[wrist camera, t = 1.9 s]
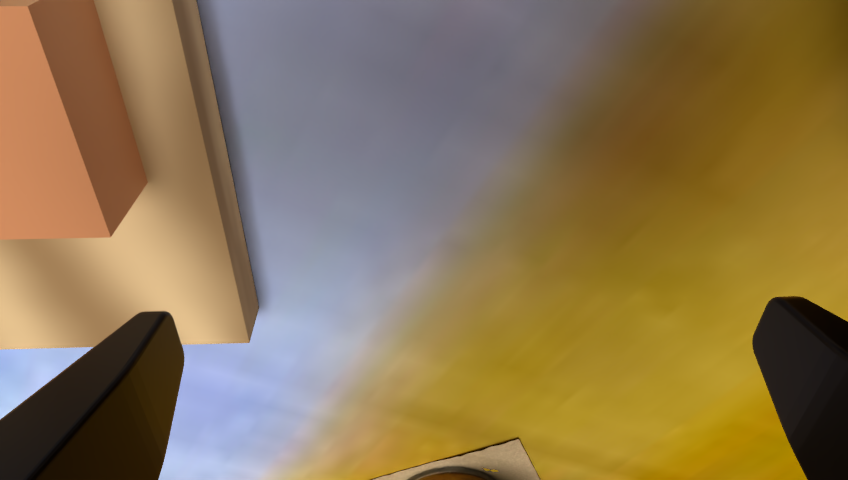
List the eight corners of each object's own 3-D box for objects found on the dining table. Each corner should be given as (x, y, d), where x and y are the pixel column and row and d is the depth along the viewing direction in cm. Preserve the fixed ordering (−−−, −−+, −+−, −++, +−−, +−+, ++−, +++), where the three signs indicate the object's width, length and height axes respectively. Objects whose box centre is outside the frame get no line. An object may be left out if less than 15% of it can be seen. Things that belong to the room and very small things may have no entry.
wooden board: (116, -393, 13) (76, -423, 11) (258, 307, 24) (249, 342, 23) (-421, -402, 12) (-543, -436, 11) (-19, 314, 24) (-49, 350, 22)
